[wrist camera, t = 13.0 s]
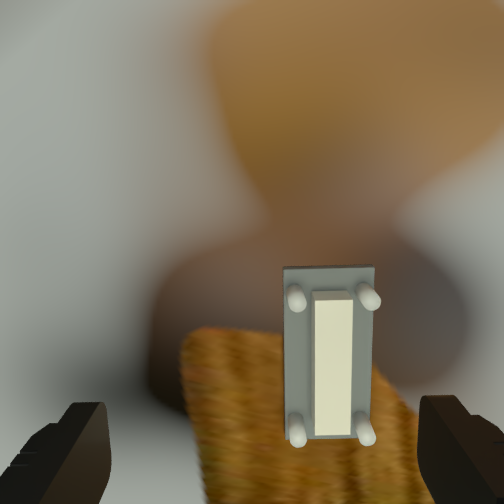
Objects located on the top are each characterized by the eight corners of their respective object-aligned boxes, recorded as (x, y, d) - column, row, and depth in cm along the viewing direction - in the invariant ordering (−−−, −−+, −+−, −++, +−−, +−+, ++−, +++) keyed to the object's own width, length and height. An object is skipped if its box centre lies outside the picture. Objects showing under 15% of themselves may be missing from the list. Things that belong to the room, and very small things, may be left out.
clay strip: (311, 291, 39) (314, 300, 37) (346, 290, 39) (353, 299, 37) (311, 418, 42) (314, 435, 39) (344, 418, 42) (350, 434, 39)
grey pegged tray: (282, 266, 40) (285, 279, 36) (371, 264, 40) (384, 277, 36) (284, 433, 43) (287, 461, 39) (366, 431, 43) (377, 459, 39)
